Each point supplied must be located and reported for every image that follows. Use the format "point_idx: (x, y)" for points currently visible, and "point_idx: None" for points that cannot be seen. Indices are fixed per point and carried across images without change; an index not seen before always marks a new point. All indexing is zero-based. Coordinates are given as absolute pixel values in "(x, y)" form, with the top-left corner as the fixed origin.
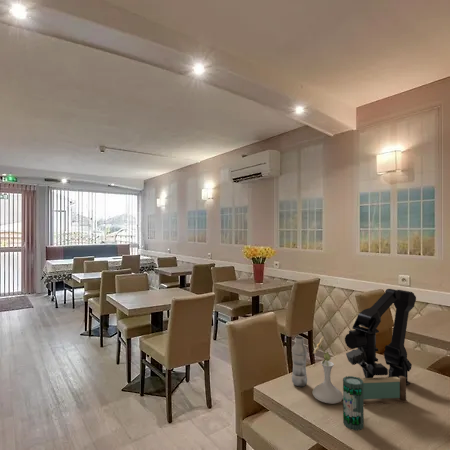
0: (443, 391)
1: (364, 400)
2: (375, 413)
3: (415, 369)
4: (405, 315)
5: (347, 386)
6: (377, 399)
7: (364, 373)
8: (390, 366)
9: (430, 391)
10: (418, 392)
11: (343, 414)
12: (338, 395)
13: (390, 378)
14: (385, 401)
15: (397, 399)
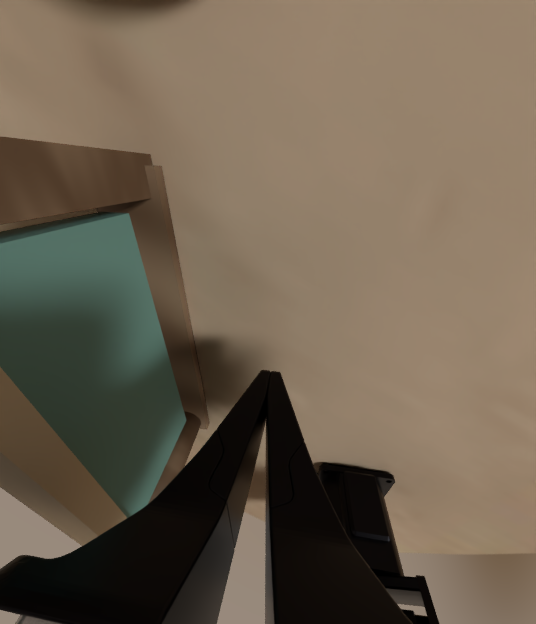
0: (254, 514)
1: (137, 231)
2: (15, 224)
3: (405, 546)
4: None
5: None
6: (167, 324)
7: (282, 444)
8: (387, 569)
9: (257, 498)
10: (253, 477)
11: None
12: None
13: (79, 534)
14: None
15: (182, 404)
